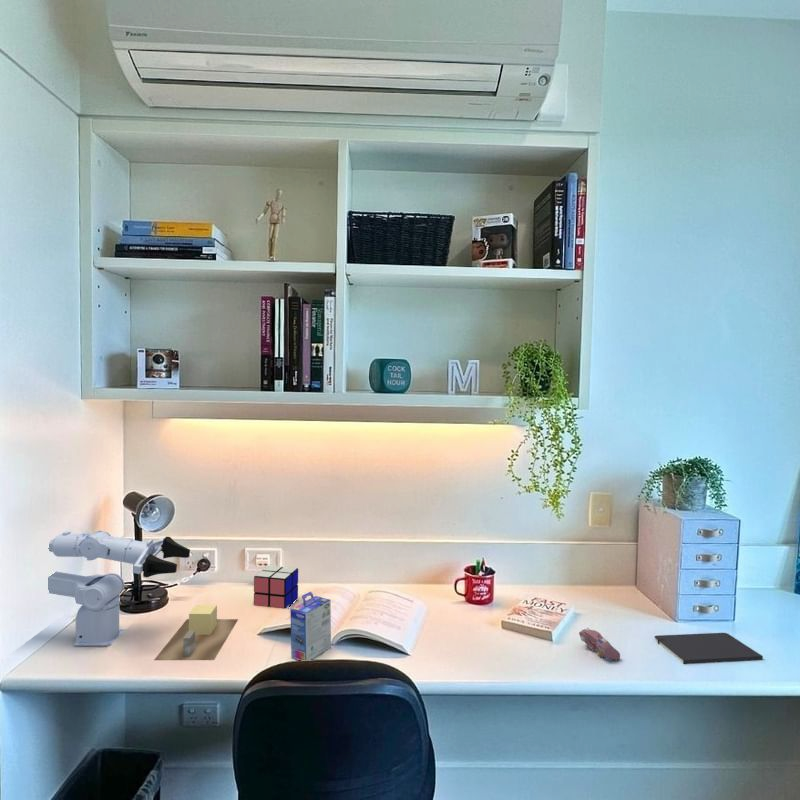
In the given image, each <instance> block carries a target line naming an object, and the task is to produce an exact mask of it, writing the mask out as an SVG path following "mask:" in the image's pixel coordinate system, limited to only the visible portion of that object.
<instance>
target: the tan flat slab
mask: <svg viewBox="0 0 800 800" xmlns="http://www.w3.org/2000/svg"><path fill="white" fill-rule="evenodd" d="M238 621H239V619H238V618H233V619H231V618H230V619H229V618H228V619H227V618H217V626H216V627H215V629H214V630H213V632H212V633H211V635H195V631H189V618H187V619H186V620H185V621H184V622H183V623H182V625H181V626H180V627H179V628H178V629H177V631H176V632H175V633H174V635H172V637H171V638H170V639H169V641H168V642H167V643H166V645H164V647H163V648H162V649H161V651H160V652H159V653H158V654H157V655H156V657H155V658H154V659H153V661H215V660H216V657H217V656H218V655H219V652H221V649H222V648H223V646H224V644H225V643H226V641H227V639H228V637H229V635H230V634H231V633H232V630H233V629H234V627H235V626H236V624H237V622H238Z"/></svg>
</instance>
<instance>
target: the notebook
mask: <svg viewBox="0 0 800 800" xmlns="http://www.w3.org/2000/svg"><path fill="white" fill-rule="evenodd" d="M654 640H655V642H656V643H657V644H658V645H660V646H661V647H662V648H663V649H665V650H666V651H667V652H668V653H670V654H671V655H672V656H673V657H675V658H676V659H677V660H678V661H680V662H681V663H682V665H690V664H691V665H693V664H709V663H710V664H712V663H729V662H730V663H731V662H746V661H747V662H751V661H763V658H764V657H763V655H762V654H760V653H759V652H757V651H755V650H754V649H753V648H751V647H749V646H748V645H746V644H745V643H743V642H741V641H740V640H739V639H737V638H736V637H734V636H732V635H730V634H729V633H727V632H708V633H706V632H704V633H685V634H664V635H662V634H661V635H655V636H654Z"/></svg>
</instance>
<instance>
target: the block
mask: <svg viewBox="0 0 800 800" xmlns="http://www.w3.org/2000/svg"><path fill="white" fill-rule="evenodd" d="M188 619H189V631H195V635H211V633H212V632H213V630H214V629H215V627H216V626H217V619H218V605H217V604H196V605H195V606H194V607H193V608H192V609H191V611H190V612H189V613H188Z"/></svg>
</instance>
